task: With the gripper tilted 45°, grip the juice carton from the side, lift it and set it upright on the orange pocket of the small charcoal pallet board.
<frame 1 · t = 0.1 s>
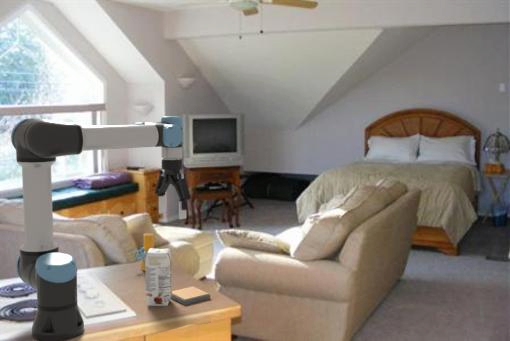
hand: (172, 215, 219), 28 cm above the kitchen counter, tool pointing down, fingers open, 13 cm apart
juice carton: (158, 303, 208), on the kitchen counter
pallet board: (188, 297, 214), on the kitchen counter
yellow and blue piece: (149, 270, 247), on the kitchen counter
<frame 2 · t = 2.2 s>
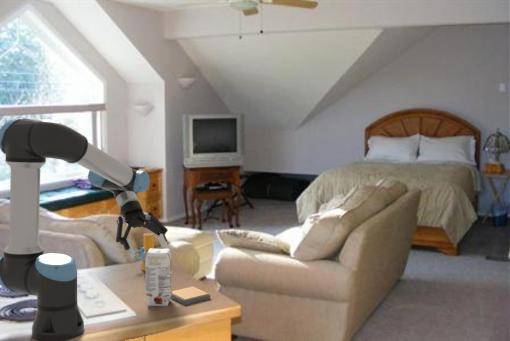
hand: (150, 253, 212), 16 cm above the kitchen counter, tool tilted 45°, fingers open, 13 cm apart
nothing on the kitchen counter moved.
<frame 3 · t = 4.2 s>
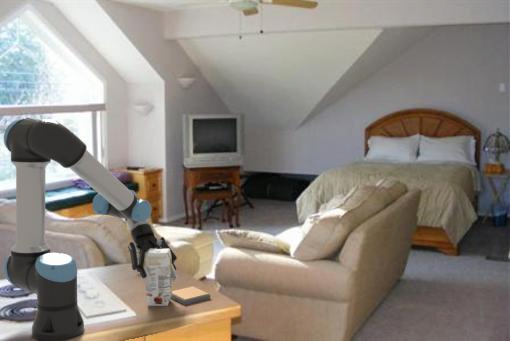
hand: (163, 282, 204), 8 cm above the kitchen counter, tool tilted 45°, fingers closed on juice carton, 9 cm apart
juice carton: (158, 303, 208), on the kitchen counter, touching gripper
everything else where it was.
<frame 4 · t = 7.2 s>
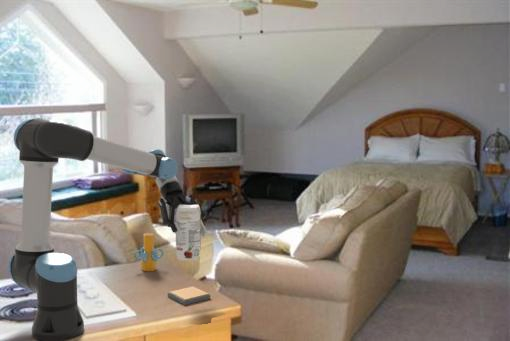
hand: (193, 236, 208), 23 cm above the kitchen counter, tool tilted 45°, fingers closed on juice carton, 9 cm apart
juice carton: (188, 258, 212), point 14 cm above the kitchen counter, touching gripper
everything else where it was.
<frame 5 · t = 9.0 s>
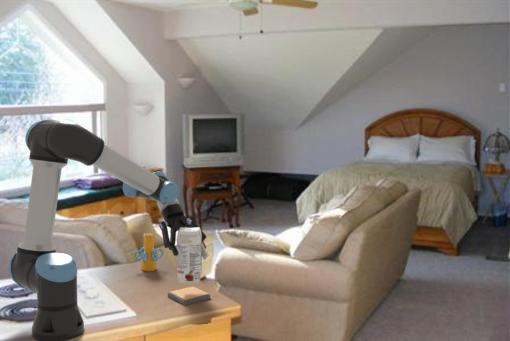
hand: (194, 259, 210), 15 cm above the kitchen counter, tool tilted 45°, fingers closed on juice carton, 9 cm apart
juice carton: (189, 281, 213), point 6 cm above the kitchen counter, touching gripper
everything else where it was.
when the fingers open (12 cm above the kitchen counter, at t = 10.3 s): juice carton drops 1 cm, resting on pallet board.
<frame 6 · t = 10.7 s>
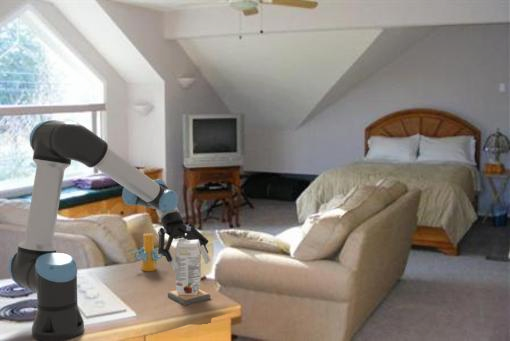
hand: (192, 265, 210), 12 cm above the kitchen counter, tool tilted 45°, fingers open, 13 cm apart
juice carton: (188, 293, 213), point 2 cm above the kitchen counter, touching pallet board
everything else where it was.
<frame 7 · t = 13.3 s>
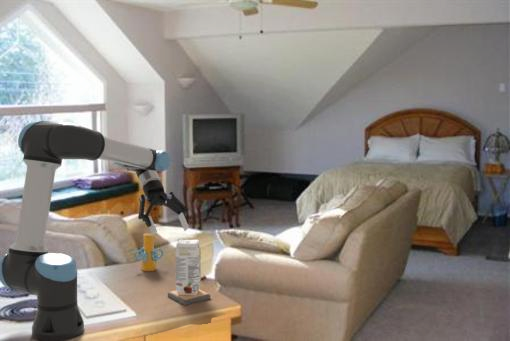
hand: (171, 231, 219), 22 cm above the kitchen counter, tool tilted 45°, fingers open, 13 cm apart
nothing on the kitchen counter moved.
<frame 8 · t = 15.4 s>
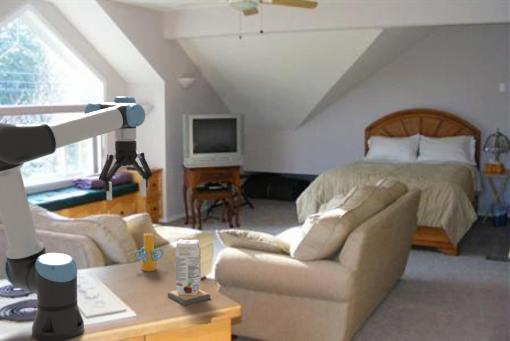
hand: (126, 198, 216), 35 cm above the kitchen counter, tool pointing down, fingers open, 13 cm apart
nothing on the kitchen counter moved.
at the end: juice carton inside the target area on the pallet board (0.2 cm from its centre), point 1.6 cm above the pallet board's base; juice carton tilted 0°; the gripper is holding nothing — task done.
